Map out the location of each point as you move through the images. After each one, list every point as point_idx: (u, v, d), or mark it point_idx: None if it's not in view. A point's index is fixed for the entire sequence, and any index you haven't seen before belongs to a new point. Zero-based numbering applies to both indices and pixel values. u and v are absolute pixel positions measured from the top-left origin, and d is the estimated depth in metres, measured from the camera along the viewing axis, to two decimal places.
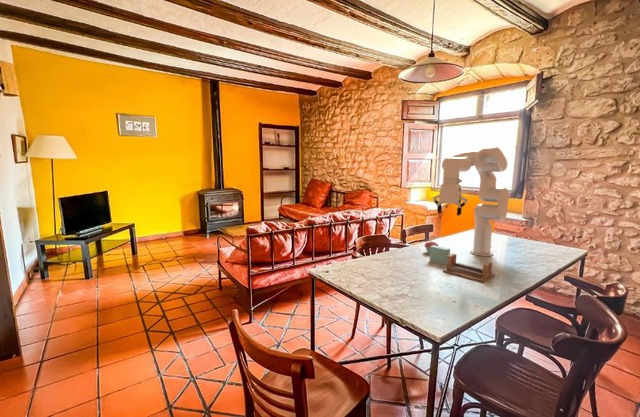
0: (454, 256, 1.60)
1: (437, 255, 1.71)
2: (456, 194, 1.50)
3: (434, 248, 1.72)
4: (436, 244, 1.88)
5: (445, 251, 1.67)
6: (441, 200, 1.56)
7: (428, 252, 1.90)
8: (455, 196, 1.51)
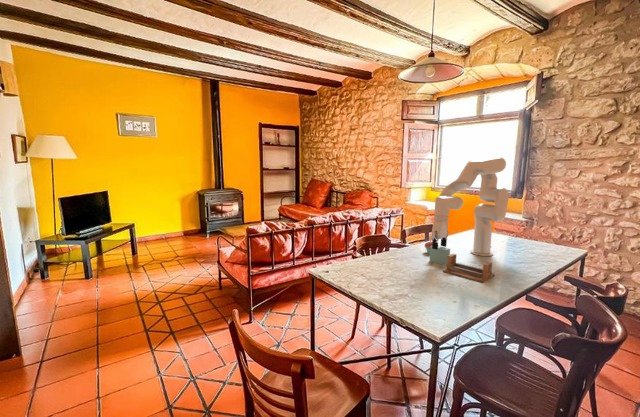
0: (454, 256, 1.60)
1: (437, 255, 1.71)
2: (447, 229, 1.70)
3: None
4: None
5: (445, 251, 1.67)
6: (440, 236, 1.66)
7: (428, 252, 1.90)
8: (447, 230, 1.70)
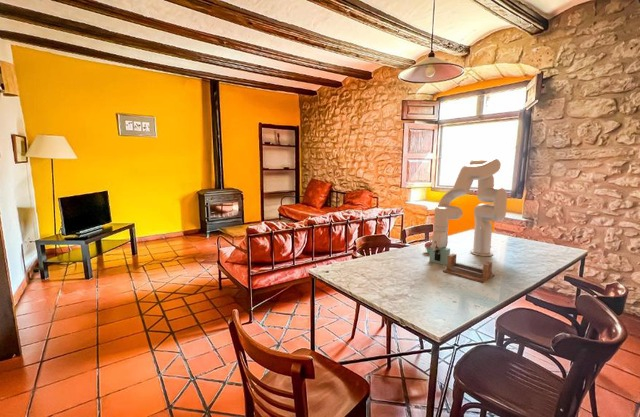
0: (454, 256, 1.60)
1: None
2: (447, 238, 1.71)
3: None
4: None
5: (445, 251, 1.67)
6: (440, 247, 1.67)
7: (428, 252, 1.90)
8: (446, 240, 1.71)
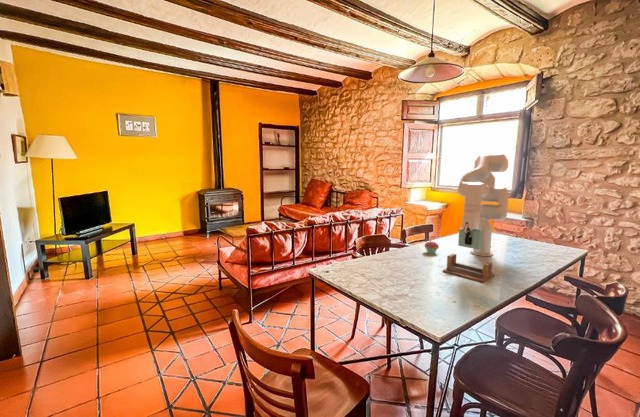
0: (454, 256, 1.60)
1: None
2: (479, 220, 1.51)
3: None
4: (436, 244, 1.88)
5: (478, 233, 1.46)
6: (472, 229, 1.47)
7: (428, 252, 1.90)
8: (479, 222, 1.51)
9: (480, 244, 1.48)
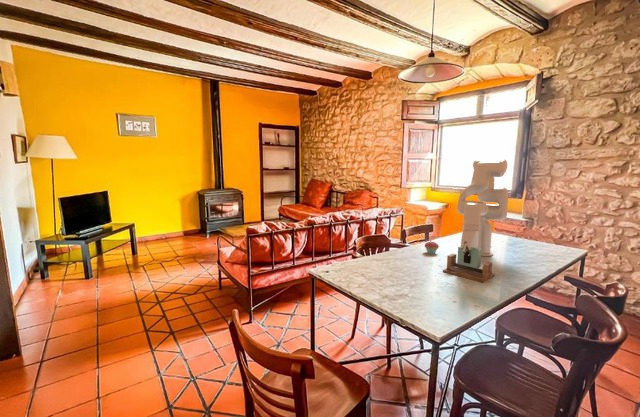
0: (454, 256, 1.60)
1: None
2: (478, 238, 1.52)
3: None
4: (436, 244, 1.88)
5: (476, 252, 1.48)
6: (471, 248, 1.48)
7: (428, 252, 1.90)
8: (477, 240, 1.52)
9: (479, 263, 1.49)
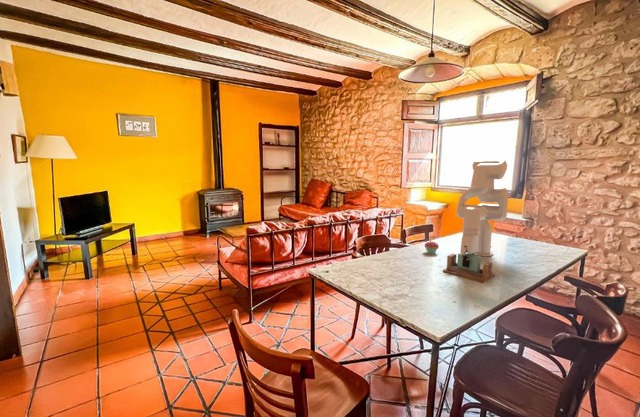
0: (454, 256, 1.60)
1: None
2: (477, 243, 1.53)
3: None
4: (436, 244, 1.88)
5: (476, 259, 1.48)
6: (470, 252, 1.49)
7: (428, 252, 1.90)
8: (477, 245, 1.53)
9: (478, 270, 1.50)
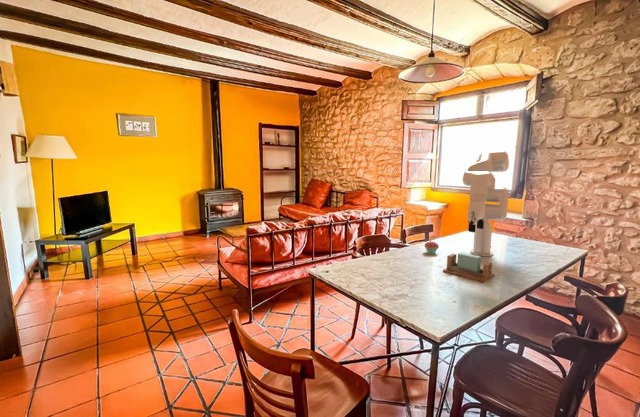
0: (454, 256, 1.60)
1: (466, 263, 1.52)
2: (484, 209, 1.53)
3: (463, 256, 1.53)
4: (436, 244, 1.88)
5: (476, 259, 1.48)
6: (478, 218, 1.49)
7: (428, 252, 1.90)
8: (484, 211, 1.53)
9: (478, 270, 1.50)
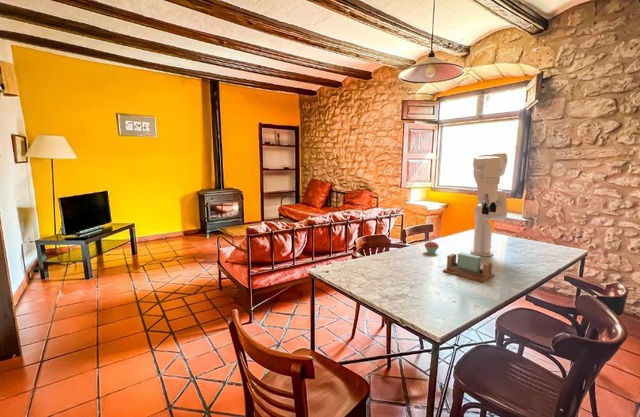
0: (454, 256, 1.60)
1: (466, 263, 1.52)
2: (497, 192, 1.58)
3: (463, 256, 1.53)
4: (436, 244, 1.88)
5: (476, 259, 1.48)
6: (491, 200, 1.54)
7: (428, 252, 1.90)
8: (497, 194, 1.58)
9: (478, 270, 1.50)
